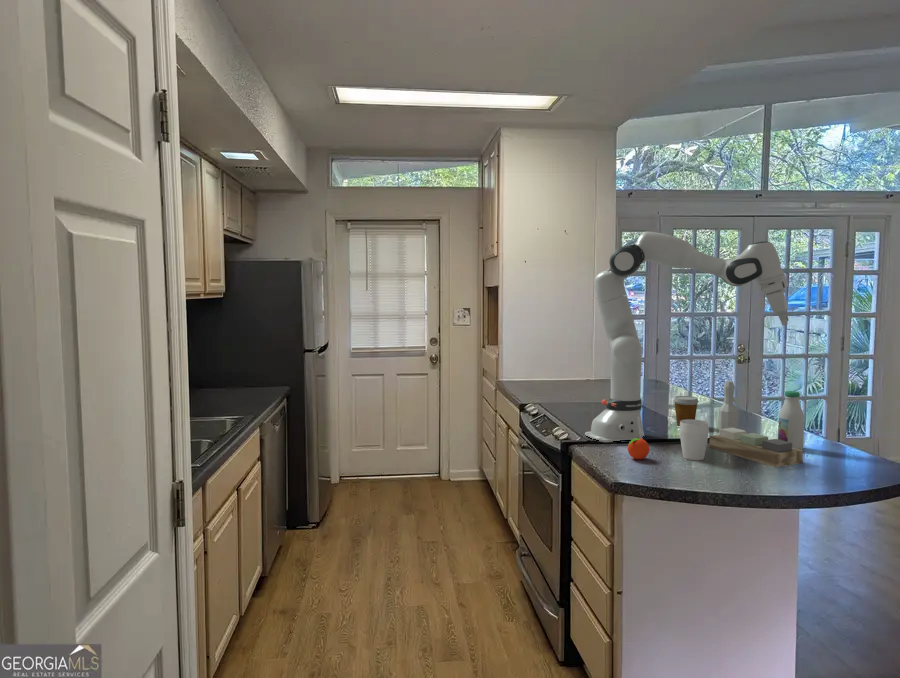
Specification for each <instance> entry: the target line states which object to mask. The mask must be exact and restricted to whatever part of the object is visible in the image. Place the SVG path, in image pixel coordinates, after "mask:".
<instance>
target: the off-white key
mask: <svg viewBox="0 0 900 678" xmlns="http://www.w3.org/2000/svg"><path fill="white" fill-rule="evenodd" d="M747 433H748V432H747V430H745V429H744V430H743V429H740V428H737V429H736V428H725V429H720V430H719V435H720V437H723V438H727V439H731V440H739V439H740V435H741V434H747Z"/></svg>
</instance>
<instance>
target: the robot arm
mask: <svg viewBox="0 0 900 678" xmlns="http://www.w3.org/2000/svg"><path fill="white" fill-rule="evenodd" d="M646 262H647V263H649V262H650V263H655V264H658V265H662V266H665V267H669V268H673V269H675V268H676V269H691V270H692V269H693V270H697V271H701V272H703V273H706V274H709V275H710V274H711V275H713V276H716V277H718V278H720V279H721V280H722V281H723V282H724V283H726V284H728V285H729V286H732V287H742V286H744V285H748V284H749V283H751V281H755V280H756V282H757V285H758V288H759V289H758V290H759V291H760V294H761V295H765V297H766V299H767V302H768V304H769V306H770V307H771V310H772V312H773V314H774V315H777V316H778V318H779V321H780V322H781V325H782V326H783V327H784V326H787V325H788V324H789V323H788V322H789V317H788V312H787V309H788V302H787V299H786V296H785V293H787V291H786V288H788V287H789V283H788V280H787V277H786V274H785V271H784V270H783V268H782V265H781V263H782V262H781V260H780V256H779V254H778V251H777V249H776V247H775V245H774V244H773V242H770V241H767V240H766V241H757V242H752V243H749V244H748V245H747V247H746V248H745V249H744V250H743V251H742V252H741V253H740V254H739V255H738V256H736V257H735V258H734V259H723V258H719V257H717V256H712V255H709V254H706V253H703V252H702V251H699V250H698V249H696V248H695V247H694V246H693V245H692V244H691V243H690V242H688V241H686V240H685V239H682V238H680V237H678V236H674V235H671V234H666V233H662V232H655V231H643V232H642V233H641V234H640V235H639V236H638V238H637V239H636V242H635V243H634V244H631V245H630V244H629V245H624V246H621V247H618V248H616V249H615V250H614V251H613V252H612V254H611V255H610V257H609V268H607V269H606V270H602V271H601V272H599V273H598V274H597V275H596V276H595V277H594V280H593V281H594V291H595V296H596V297H595V298H596V300H597V301H596V302H597V305H598V308H599V309H598V310H599V313H600V315H601V319H602V322H603V326H604V330H605V333H606V336H607V340H608V344H609V346H610V397H609V399H608V400H607V399H604V398H603V399H602V400H601V402H600V403H601V405H603V406H606V408H605V409H604V410H602V411H601V413H599V414H598V415H597V416H596V417H595V418H593V420H592V422H591V426H590V427H591V428H590V431H585V433H584V436H585V435H586V436H588V437H590V438H592V439H591V440H593V439H596V440H599V441H598V442H601V443H614V442H613V441H620V440H633V439H635V438H641V439H643V438H644V437H645V432H644V428H643V422H642V412H641V411H642V406H643V404H642V398H641V388H642V387H641V385H642V384H641V383H642V381H641V379H642V362H643V361H642V356H643V346H642V344H641V342H640V338H639V336H638V332H637V328H636V325H635V321H634V317H633V312H632V310H631V305H630V302H629V298H628V295H627V291H626V287H625V280H626V279H627V278H629V277H631V276H632V275H635V274H636V272H638V271H639V269H640V267H641V265H642V264H644V263H646ZM586 436H585V437H586ZM643 436H644V437H643ZM588 437H587V438H588ZM642 437H643V438H642ZM590 438H589V439H590ZM596 440H595V441H596Z"/></svg>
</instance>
